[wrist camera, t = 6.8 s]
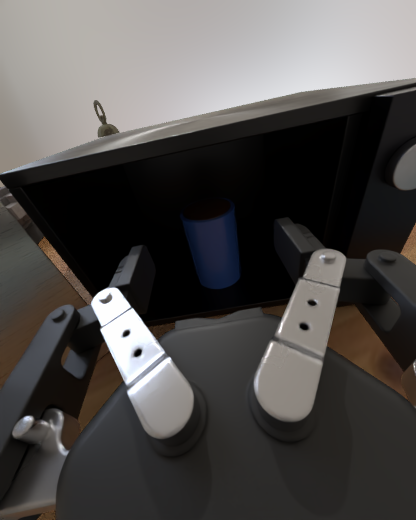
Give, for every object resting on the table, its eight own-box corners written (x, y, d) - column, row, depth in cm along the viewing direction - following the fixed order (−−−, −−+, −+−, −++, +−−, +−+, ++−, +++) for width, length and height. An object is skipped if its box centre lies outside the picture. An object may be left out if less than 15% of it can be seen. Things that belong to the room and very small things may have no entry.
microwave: (381, 307, 22) (512, 65, 10) (113, 350, 23) (-36, 186, 12) (292, 212, 41) (302, 91, 29) (149, 239, 43) (105, 136, 31)
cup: (225, 295, 25) (213, 226, 19) (188, 280, 29) (167, 217, 23) (249, 265, 29) (245, 199, 23) (213, 254, 33) (201, 194, 27)
